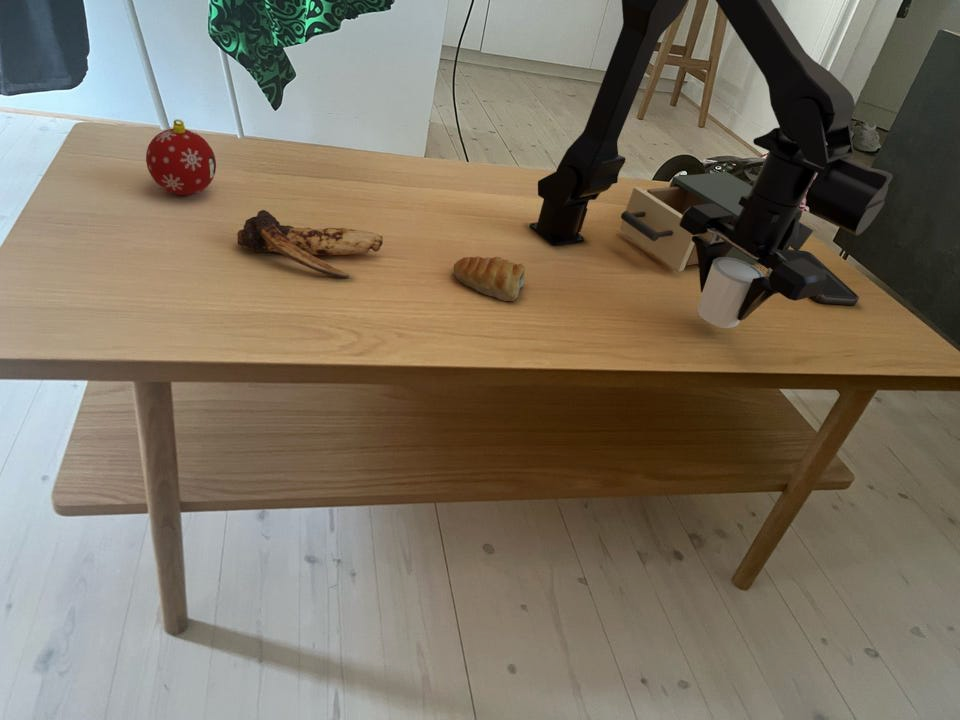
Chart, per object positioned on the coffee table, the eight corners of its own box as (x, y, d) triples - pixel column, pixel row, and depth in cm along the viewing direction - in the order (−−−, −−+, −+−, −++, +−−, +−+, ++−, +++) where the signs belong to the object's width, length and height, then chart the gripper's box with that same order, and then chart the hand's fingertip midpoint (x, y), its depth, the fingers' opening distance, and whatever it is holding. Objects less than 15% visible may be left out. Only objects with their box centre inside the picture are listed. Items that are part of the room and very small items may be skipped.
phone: (820, 296, 103) (770, 247, 114) (816, 302, 104) (767, 253, 115) (862, 299, 105) (809, 251, 116) (859, 305, 106) (806, 256, 117)
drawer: (657, 276, 99) (675, 231, 94) (598, 232, 107) (612, 189, 103) (730, 261, 108) (750, 219, 103) (671, 221, 116) (687, 181, 112)
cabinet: (718, 271, 106) (742, 218, 101) (653, 227, 115) (673, 176, 110) (770, 260, 113) (795, 210, 108) (706, 219, 122) (726, 171, 117)
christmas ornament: (172, 173, 97) (166, 103, 91) (228, 188, 97) (226, 119, 91) (135, 195, 90) (126, 120, 84) (196, 211, 90) (192, 138, 84)
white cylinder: (745, 336, 87) (770, 290, 83) (693, 322, 87) (714, 275, 83) (739, 309, 92) (762, 264, 88) (690, 295, 93) (710, 250, 88)
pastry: (446, 286, 87) (451, 260, 85) (458, 263, 93) (463, 238, 90) (516, 305, 87) (523, 280, 84) (524, 281, 92) (531, 256, 90)
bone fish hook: (233, 276, 81) (385, 282, 85) (231, 242, 78) (388, 250, 82) (239, 235, 87) (379, 243, 92) (237, 202, 84) (382, 212, 89)
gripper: (882, 226, 78) (816, 335, 87) (756, 159, 89) (709, 262, 99) (828, 237, 72) (763, 352, 81) (700, 163, 83) (656, 272, 93)
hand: (722, 305), depth 89 cm, fingers closed on white cylinder, 6 cm apart
